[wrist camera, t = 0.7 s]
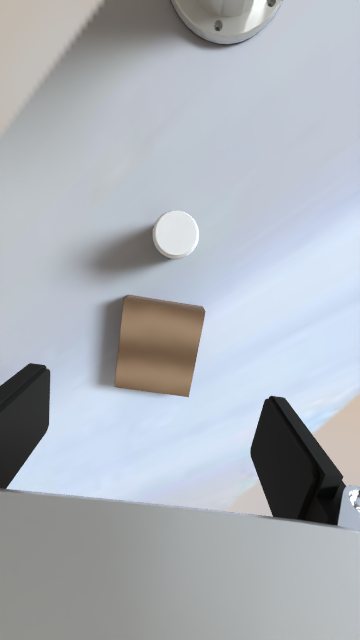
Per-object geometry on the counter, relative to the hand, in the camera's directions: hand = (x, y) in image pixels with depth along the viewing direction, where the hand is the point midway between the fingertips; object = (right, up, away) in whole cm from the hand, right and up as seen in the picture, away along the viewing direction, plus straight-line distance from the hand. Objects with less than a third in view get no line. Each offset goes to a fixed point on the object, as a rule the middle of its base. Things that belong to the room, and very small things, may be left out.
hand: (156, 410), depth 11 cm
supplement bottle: (0, +14, +20) cm, 25 cm away
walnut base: (-2, +1, +24) cm, 24 cm away
